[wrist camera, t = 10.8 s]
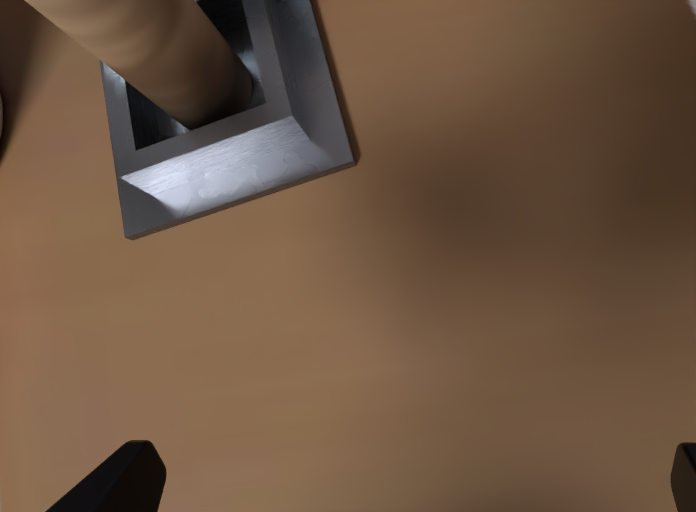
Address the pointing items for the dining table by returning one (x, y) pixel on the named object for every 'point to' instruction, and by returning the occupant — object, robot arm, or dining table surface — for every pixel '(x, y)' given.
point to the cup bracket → (232, 124)
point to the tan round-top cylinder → (160, 53)
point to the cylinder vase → (1, 116)
